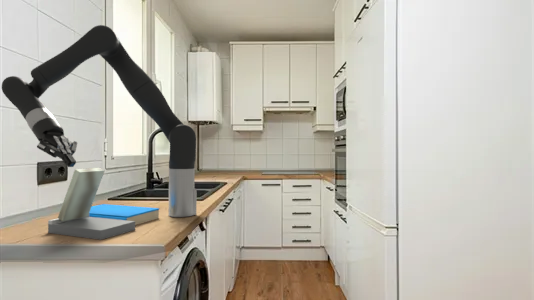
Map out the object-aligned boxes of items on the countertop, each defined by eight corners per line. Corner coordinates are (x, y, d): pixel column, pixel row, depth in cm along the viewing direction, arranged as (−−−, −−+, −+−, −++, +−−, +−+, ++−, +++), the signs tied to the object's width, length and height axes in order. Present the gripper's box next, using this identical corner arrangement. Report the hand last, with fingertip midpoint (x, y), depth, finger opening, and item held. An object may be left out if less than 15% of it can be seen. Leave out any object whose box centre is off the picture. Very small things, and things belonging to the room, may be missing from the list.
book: (103, 204, 134) (159, 207, 126) (103, 215, 134) (159, 219, 126) (64, 211, 118) (126, 215, 110) (64, 224, 118) (126, 229, 110)
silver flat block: (87, 216, 112) (83, 212, 113) (104, 170, 109) (100, 167, 110) (62, 221, 104) (57, 217, 104) (79, 172, 101) (75, 169, 102)
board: (85, 224, 115) (85, 212, 115) (135, 229, 108) (135, 217, 108) (48, 232, 103) (48, 220, 103) (100, 239, 96) (101, 226, 96)
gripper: (29, 115, 106) (59, 156, 101) (69, 118, 118) (96, 156, 113) (17, 133, 108) (45, 175, 103) (57, 134, 120) (84, 172, 115)
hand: (72, 165), depth 108 cm, fingers closed
